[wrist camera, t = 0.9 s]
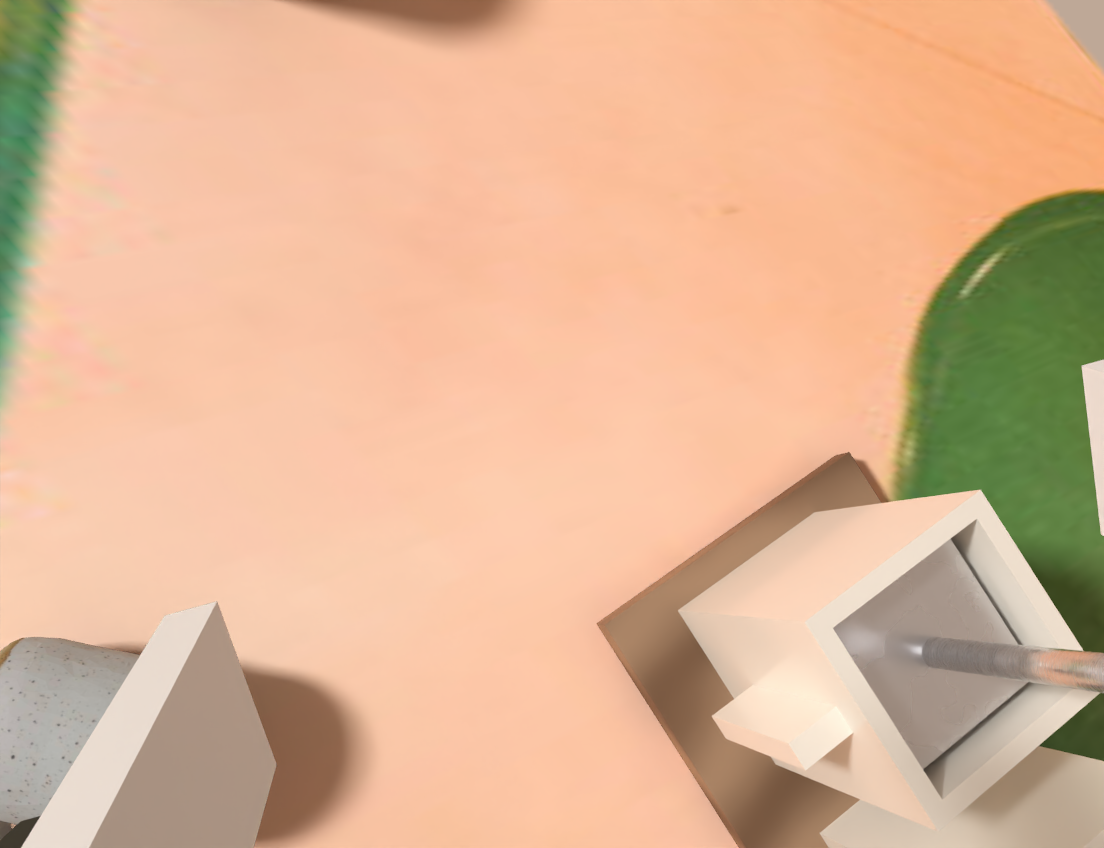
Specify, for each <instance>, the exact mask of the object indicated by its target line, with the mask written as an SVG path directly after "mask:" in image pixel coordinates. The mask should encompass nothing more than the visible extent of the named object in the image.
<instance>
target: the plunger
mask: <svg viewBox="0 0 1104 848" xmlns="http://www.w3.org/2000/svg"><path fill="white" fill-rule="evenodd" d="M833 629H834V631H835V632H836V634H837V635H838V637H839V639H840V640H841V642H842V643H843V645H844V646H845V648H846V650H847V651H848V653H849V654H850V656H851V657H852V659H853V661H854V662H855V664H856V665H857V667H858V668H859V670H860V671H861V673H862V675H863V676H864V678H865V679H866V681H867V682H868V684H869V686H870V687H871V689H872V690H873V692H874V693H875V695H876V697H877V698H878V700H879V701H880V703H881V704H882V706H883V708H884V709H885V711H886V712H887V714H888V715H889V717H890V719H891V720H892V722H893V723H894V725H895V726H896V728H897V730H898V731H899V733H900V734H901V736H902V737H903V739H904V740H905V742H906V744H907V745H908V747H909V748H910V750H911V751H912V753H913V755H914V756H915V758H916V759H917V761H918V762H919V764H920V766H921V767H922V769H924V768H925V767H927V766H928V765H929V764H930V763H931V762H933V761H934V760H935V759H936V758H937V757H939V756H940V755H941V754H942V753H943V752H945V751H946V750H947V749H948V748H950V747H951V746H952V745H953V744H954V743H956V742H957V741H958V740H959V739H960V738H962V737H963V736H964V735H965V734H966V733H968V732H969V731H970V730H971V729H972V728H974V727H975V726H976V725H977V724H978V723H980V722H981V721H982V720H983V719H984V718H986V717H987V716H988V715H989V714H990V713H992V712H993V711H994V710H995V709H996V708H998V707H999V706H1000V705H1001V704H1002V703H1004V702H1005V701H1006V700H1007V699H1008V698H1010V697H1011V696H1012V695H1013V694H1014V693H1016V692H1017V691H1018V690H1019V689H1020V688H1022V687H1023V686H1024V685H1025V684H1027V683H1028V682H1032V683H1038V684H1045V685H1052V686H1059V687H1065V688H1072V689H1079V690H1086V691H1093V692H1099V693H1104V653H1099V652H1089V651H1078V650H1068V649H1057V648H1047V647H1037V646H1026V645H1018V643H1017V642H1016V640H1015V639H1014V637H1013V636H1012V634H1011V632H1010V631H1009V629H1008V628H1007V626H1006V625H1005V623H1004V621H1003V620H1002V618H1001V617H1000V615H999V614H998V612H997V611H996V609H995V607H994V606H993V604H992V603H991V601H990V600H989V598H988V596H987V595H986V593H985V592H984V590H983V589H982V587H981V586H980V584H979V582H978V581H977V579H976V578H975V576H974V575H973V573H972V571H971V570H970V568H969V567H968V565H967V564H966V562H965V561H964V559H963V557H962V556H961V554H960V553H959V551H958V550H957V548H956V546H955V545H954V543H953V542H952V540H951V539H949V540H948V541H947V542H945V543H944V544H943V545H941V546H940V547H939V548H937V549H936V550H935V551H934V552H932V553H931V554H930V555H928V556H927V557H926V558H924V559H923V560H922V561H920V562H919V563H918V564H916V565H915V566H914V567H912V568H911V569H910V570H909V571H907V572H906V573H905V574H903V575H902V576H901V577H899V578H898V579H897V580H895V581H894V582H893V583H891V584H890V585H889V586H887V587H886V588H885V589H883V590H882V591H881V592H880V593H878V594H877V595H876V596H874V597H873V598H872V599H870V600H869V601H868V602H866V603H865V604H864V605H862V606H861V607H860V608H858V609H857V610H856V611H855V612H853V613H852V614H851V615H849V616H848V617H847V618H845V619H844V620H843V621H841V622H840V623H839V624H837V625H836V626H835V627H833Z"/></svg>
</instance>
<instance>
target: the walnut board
mask: <svg viewBox="0 0 1104 848" xmlns="http://www.w3.org/2000/svg"><path fill="white" fill-rule="evenodd" d="M879 503H881V501H880V500H879V498H878V496H877V495H876V493H875V492H874V490H873V489H872V487H871V486H870V484H869V482H868V481H867V479H866V478H865V476H864V475H863V473H862V471H861V470H860V468H859V467H858V465H857V464H856V462H855V460H854V459H853V457H852V456H851V454H850V453H849V452H848V453H844V454H840V455H836V456H834V457H833V458H831V459H830V460H829V461H827V462H826V463H824V464H823V465H821V466H820V467H819V468H817V469H816V470H814V471H813V472H811V473H810V474H809V475H807V476H806V477H804V478H803V479H802V480H800V481H799V482H797V483H796V484H794V485H793V486H792V487H790V488H789V489H787V490H786V491H784V492H783V493H782V494H780V495H779V496H777V497H776V498H775V499H773V500H772V501H770V502H769V503H767V504H766V505H765V506H763V507H762V508H760V509H759V510H757V511H756V512H755V513H753V514H752V515H750V516H749V517H747V518H746V519H745V520H743V521H742V522H740V523H739V524H738V525H736V526H735V527H733V528H732V529H730V530H729V531H728V532H726V533H725V534H723V535H722V536H720V537H719V538H718V539H716V540H715V541H713V542H712V543H711V544H709V545H708V546H706V547H705V548H703V549H702V550H701V551H699V552H698V553H696V554H695V555H693V556H692V557H691V558H689V559H688V560H686V561H685V562H683V563H682V564H681V565H679V566H678V567H676V568H675V569H674V570H672V571H671V572H669V573H668V574H666V575H665V576H664V577H662V578H661V579H659V580H658V581H656V582H655V583H654V584H652V585H651V586H649V587H648V588H646V589H645V590H644V591H642V592H641V593H639V594H638V595H637V596H635V597H634V598H632V599H631V600H629V601H628V602H627V603H625V604H624V605H622V606H621V607H619V608H618V609H617V610H615V611H614V612H612V613H611V614H610V615H608V616H607V617H605V618H604V619H602V620H601V621H600V622H598V623H597V625H598V626H599V628H600V630H601V631H602V633H603V634H604V636H605V637H606V639H607V641H608V642H609V644H610V645H611V647H612V648H613V650H614V652H615V653H616V655H617V656H618V658H619V660H620V661H621V663H622V664H623V666H624V667H625V669H626V671H627V672H628V674H629V675H630V677H631V678H632V680H633V682H634V683H635V685H636V686H637V688H638V689H639V691H640V693H641V694H642V696H643V697H644V699H645V700H646V702H647V704H648V705H649V707H650V708H651V710H652V711H653V713H654V715H655V716H656V718H657V719H658V721H659V722H660V724H661V726H662V727H663V729H664V730H665V732H666V733H667V735H668V737H669V738H670V740H671V741H672V743H673V745H674V746H675V748H676V749H677V751H678V752H679V754H680V756H681V757H682V759H683V760H684V762H685V763H686V765H687V767H688V768H689V770H690V771H691V773H692V774H693V776H694V778H695V779H696V781H697V782H698V784H699V785H700V787H701V789H702V790H703V792H704V793H705V795H706V796H707V798H708V800H709V801H710V803H711V804H712V806H713V807H714V809H715V811H716V812H717V814H718V815H719V817H720V818H721V820H722V822H723V823H724V825H725V826H726V828H727V829H728V831H729V833H730V834H731V836H732V837H733V839H734V841H735V842H736V844H737V845H738V847H739V848H829V847H828V846H827V844H826V843H825V841H824V840H823V838H822V836H821V835H820V832H821V831H823V830H824V829H825V828H826V827H827V826H829V825H830V824H831V823H832V822H834V821H835V820H836V819H837V818H838V817H840V816H841V815H842V814H843V813H844V812H846V811H847V810H848V809H849V808H851V807H852V806H853V805H854V804H855V803H857V802H858V801H859V800H860V799H858V798H855V797H853V796H851V795H848V794H846V793H843V792H841V791H839V790H836V789H834V788H831V787H829V786H826V785H824V784H822V783H819V782H817V781H814V780H812V779H810V778H807V777H805V776H802V775H800V774H797V773H795V772H793V771H790V770H788V769H785V768H783V767H781V766H778V765H776V764H775V763H774V761H773V759H772V758H771V757H770V756H768V755H765V754H763V753H760V752H758V751H755V750H753V749H750V748H748V747H745V746H743V745H740V744H738V743H735V742H733V741H730V740H728V739H726V738H725V736H724V735H723V733H722V732H721V730H720V729H719V727H718V725H717V724H716V722H715V721H714V719H713V718H712V715H714V714H715V713H716V712H718V711H719V710H720V709H722V708H723V707H724V706H726V705H727V704H728V703H730V702H731V701H732V700H734V698H733V697H732V695H731V693H730V692H729V690H728V689H727V687H726V686H725V684H724V682H723V681H722V679H721V678H720V676H719V675H718V673H717V671H716V670H715V668H714V667H713V665H712V664H711V662H710V660H709V659H708V657H707V656H706V654H705V653H704V651H703V649H702V648H701V646H700V645H699V643H698V642H697V640H696V638H695V637H694V635H693V634H692V632H691V631H690V629H689V627H688V626H687V624H686V623H685V621H684V620H683V618H682V616H681V615H680V613H679V612H678V610H679V609H680V608H682V607H683V606H684V605H686V604H687V603H689V602H690V601H691V600H693V599H694V598H696V597H697V596H698V595H700V594H701V593H703V592H704V591H705V590H707V589H708V588H710V587H711V586H712V585H714V584H715V583H717V582H718V581H719V580H721V579H722V578H724V577H725V576H726V575H728V574H729V573H731V572H732V571H733V570H735V569H736V568H737V567H739V566H740V565H742V564H743V563H744V562H746V561H747V560H749V559H750V558H751V557H753V556H754V555H756V554H757V553H758V552H760V551H761V550H763V549H764V548H765V547H767V546H768V545H770V544H771V543H772V542H774V541H775V540H777V539H778V538H779V537H781V536H782V535H784V534H785V533H786V532H788V531H789V530H790V529H792V528H793V527H795V526H796V525H797V524H799V523H800V522H802V521H803V520H804V519H806V518H807V517H809V516H810V515H811V514H813V513H814V512H820V511H828V510H835V509H842V508H850V507H857V506H864V505H872V504H879Z"/></svg>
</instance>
